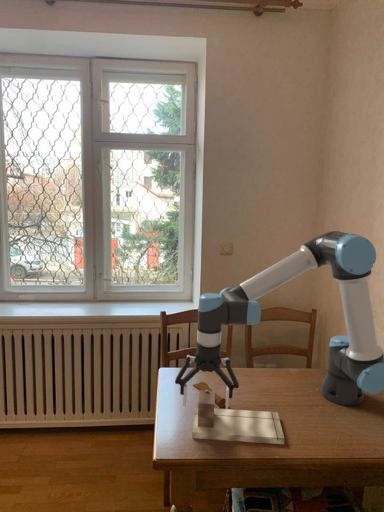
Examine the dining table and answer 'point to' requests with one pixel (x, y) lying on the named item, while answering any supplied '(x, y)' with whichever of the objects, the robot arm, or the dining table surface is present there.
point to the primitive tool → (204, 386)
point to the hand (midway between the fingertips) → (205, 405)
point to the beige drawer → (206, 408)
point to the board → (241, 426)
